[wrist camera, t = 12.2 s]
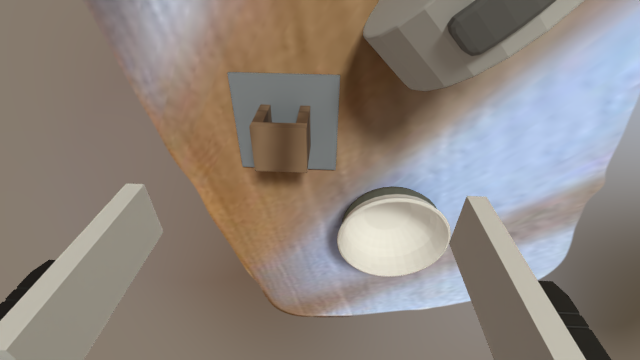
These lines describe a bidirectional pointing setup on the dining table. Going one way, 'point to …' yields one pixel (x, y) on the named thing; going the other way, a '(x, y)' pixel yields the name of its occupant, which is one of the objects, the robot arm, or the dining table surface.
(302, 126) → the notched open box
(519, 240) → the dining table surface
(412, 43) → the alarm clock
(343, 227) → the bowl
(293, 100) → the mat
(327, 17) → the dining table surface
